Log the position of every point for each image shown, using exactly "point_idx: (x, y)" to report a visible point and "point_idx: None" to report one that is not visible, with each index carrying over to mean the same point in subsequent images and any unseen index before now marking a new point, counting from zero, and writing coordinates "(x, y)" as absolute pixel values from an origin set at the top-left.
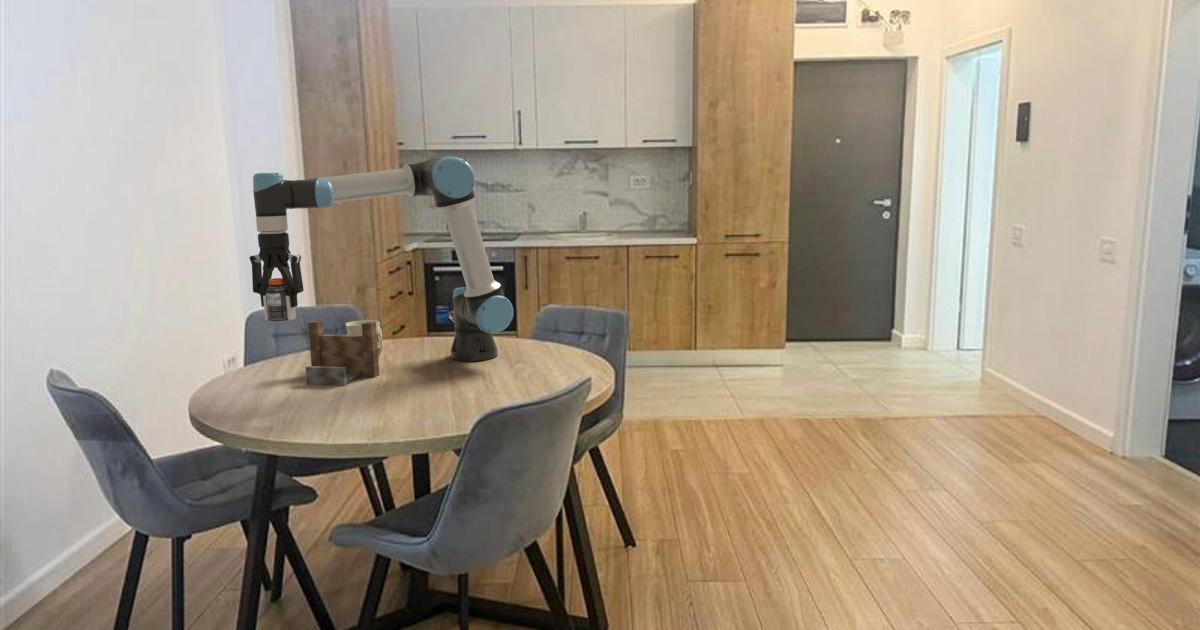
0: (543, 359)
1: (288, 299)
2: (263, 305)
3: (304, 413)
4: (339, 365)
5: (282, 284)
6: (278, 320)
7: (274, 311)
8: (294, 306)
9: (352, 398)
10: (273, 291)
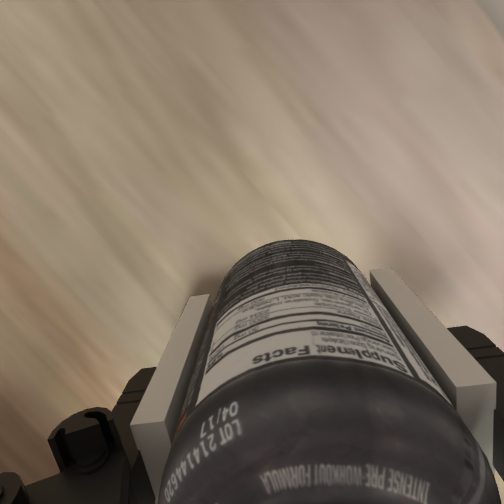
0: None
1: (146, 394)
2: (456, 333)
3: (64, 39)
4: None
5: None
6: (251, 251)
7: (275, 267)
8: (138, 375)
9: (59, 220)
10: (265, 384)
